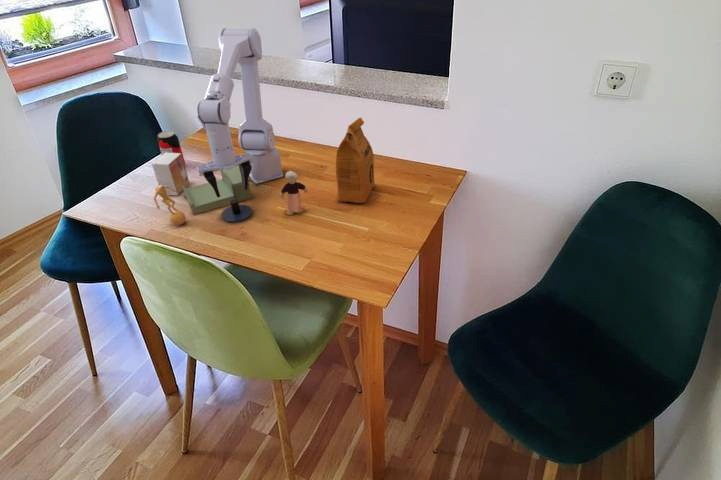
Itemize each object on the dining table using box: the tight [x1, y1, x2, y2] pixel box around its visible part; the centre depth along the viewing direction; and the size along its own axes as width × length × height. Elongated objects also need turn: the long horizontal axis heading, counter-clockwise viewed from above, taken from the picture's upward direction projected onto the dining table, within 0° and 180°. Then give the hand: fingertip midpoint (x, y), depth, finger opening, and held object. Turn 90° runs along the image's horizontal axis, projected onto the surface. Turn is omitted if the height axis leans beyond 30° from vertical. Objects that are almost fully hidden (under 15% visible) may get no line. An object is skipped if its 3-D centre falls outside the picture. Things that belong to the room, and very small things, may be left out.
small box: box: [151, 152, 190, 196], centre depth 145 cm, size 8×6×10 cm
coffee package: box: [335, 117, 375, 204], centre depth 135 cm, size 10×12×22 cm
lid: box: [221, 199, 253, 224], centre depth 134 cm, size 8×8×4 cm
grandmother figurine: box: [279, 170, 308, 216], centre depth 132 cm, size 8×4×13 cm, turn 117°
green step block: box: [182, 166, 253, 215], centre depth 142 cm, size 17×12×6 cm
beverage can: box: [157, 130, 186, 165], centre depth 157 cm, size 6×6×12 cm
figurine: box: [153, 185, 186, 226], centre depth 129 cm, size 8×6×12 cm
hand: (231, 191), depth 131 cm, fingers open, 7 cm apart
